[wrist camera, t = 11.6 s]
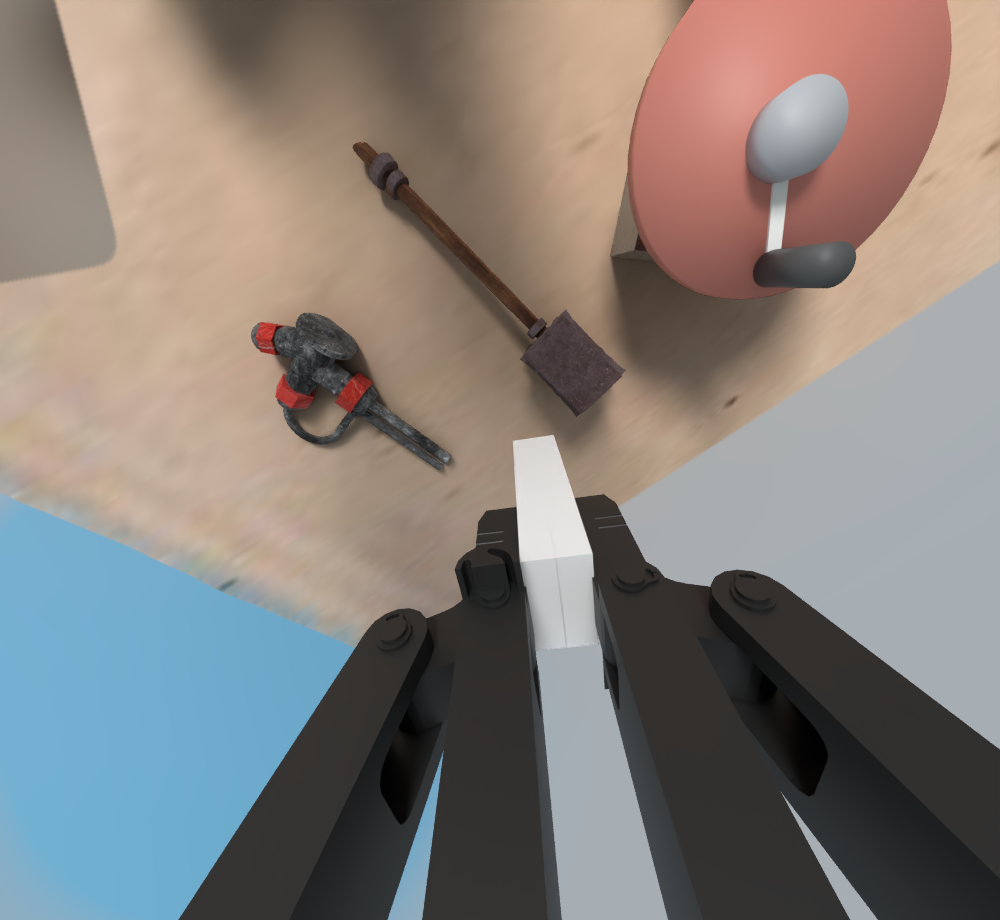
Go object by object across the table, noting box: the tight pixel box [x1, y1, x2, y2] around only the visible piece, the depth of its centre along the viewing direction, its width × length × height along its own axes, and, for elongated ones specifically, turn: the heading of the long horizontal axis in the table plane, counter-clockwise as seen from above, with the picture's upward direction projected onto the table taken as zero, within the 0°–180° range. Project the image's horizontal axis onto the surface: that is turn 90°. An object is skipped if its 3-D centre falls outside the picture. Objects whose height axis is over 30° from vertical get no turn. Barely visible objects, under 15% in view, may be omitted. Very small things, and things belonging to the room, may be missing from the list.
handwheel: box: [628, 0, 952, 299], centre depth 24 cm, size 20×20×10 cm
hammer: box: [353, 142, 626, 417], centre depth 38 cm, size 7×33×10 cm, turn 47°
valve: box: [251, 313, 451, 470], centre depth 46 cm, size 6×26×15 cm
